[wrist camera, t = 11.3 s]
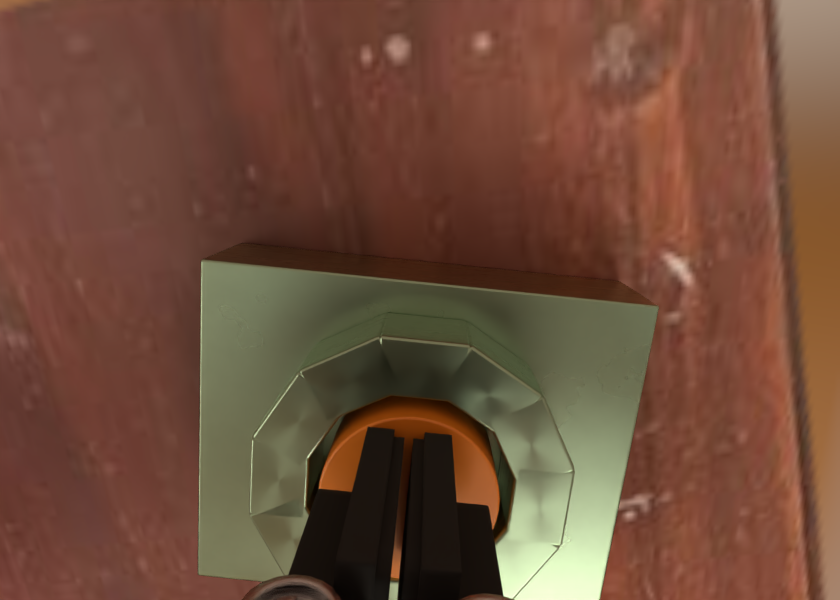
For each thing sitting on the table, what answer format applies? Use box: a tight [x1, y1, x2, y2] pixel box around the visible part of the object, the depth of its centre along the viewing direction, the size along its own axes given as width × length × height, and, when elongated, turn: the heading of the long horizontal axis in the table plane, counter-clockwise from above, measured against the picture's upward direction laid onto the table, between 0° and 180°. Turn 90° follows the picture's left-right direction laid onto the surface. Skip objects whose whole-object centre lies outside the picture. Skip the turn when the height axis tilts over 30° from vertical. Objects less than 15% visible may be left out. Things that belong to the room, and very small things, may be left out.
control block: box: [198, 243, 659, 600], centre depth 14 cm, size 10×8×4 cm
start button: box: [318, 396, 500, 578], centre depth 12 cm, size 4×4×2 cm
